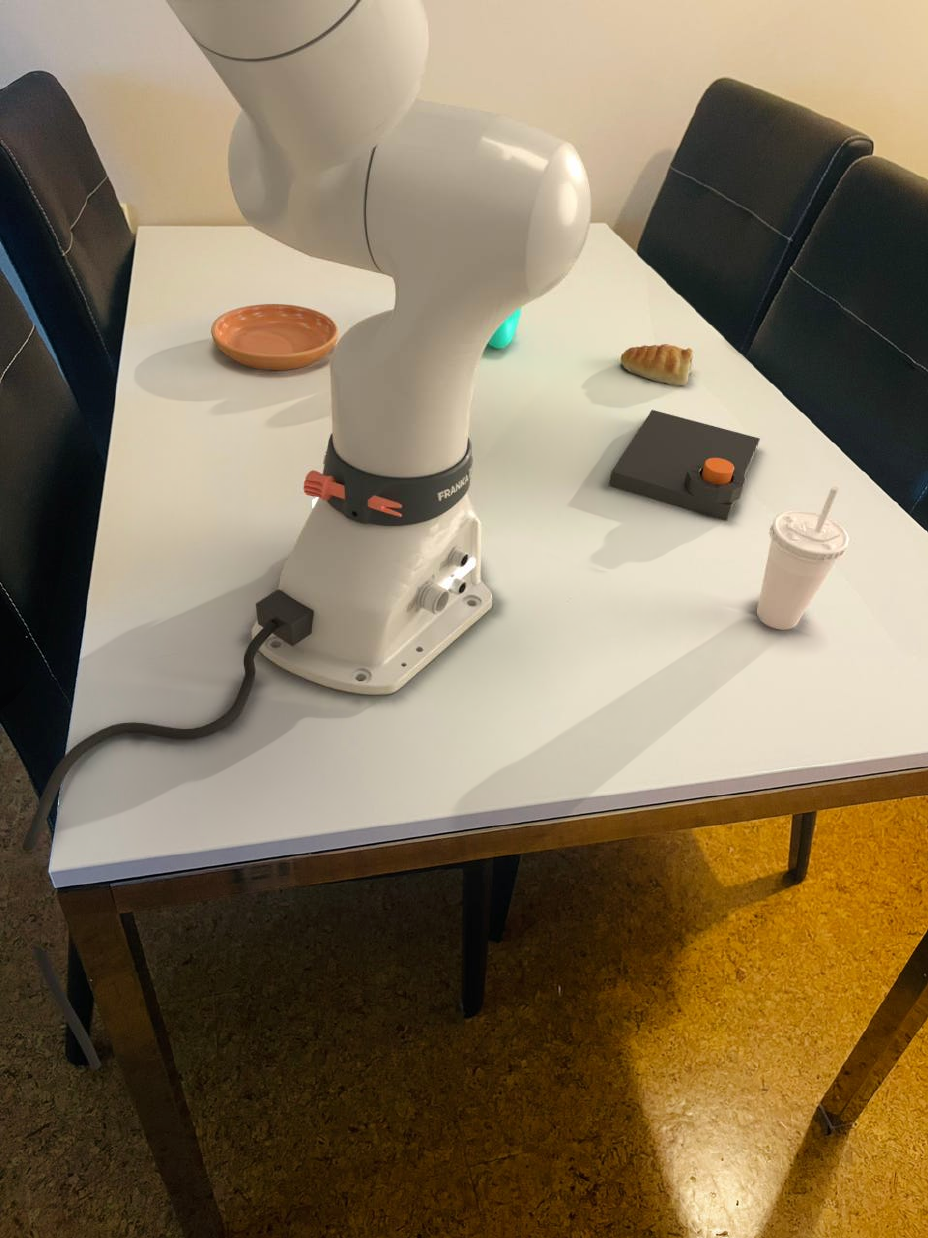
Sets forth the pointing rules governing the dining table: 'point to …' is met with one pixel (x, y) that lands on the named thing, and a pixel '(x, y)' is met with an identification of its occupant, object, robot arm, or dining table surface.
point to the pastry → (659, 363)
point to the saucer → (274, 336)
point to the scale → (684, 464)
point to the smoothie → (798, 563)
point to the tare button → (717, 471)
